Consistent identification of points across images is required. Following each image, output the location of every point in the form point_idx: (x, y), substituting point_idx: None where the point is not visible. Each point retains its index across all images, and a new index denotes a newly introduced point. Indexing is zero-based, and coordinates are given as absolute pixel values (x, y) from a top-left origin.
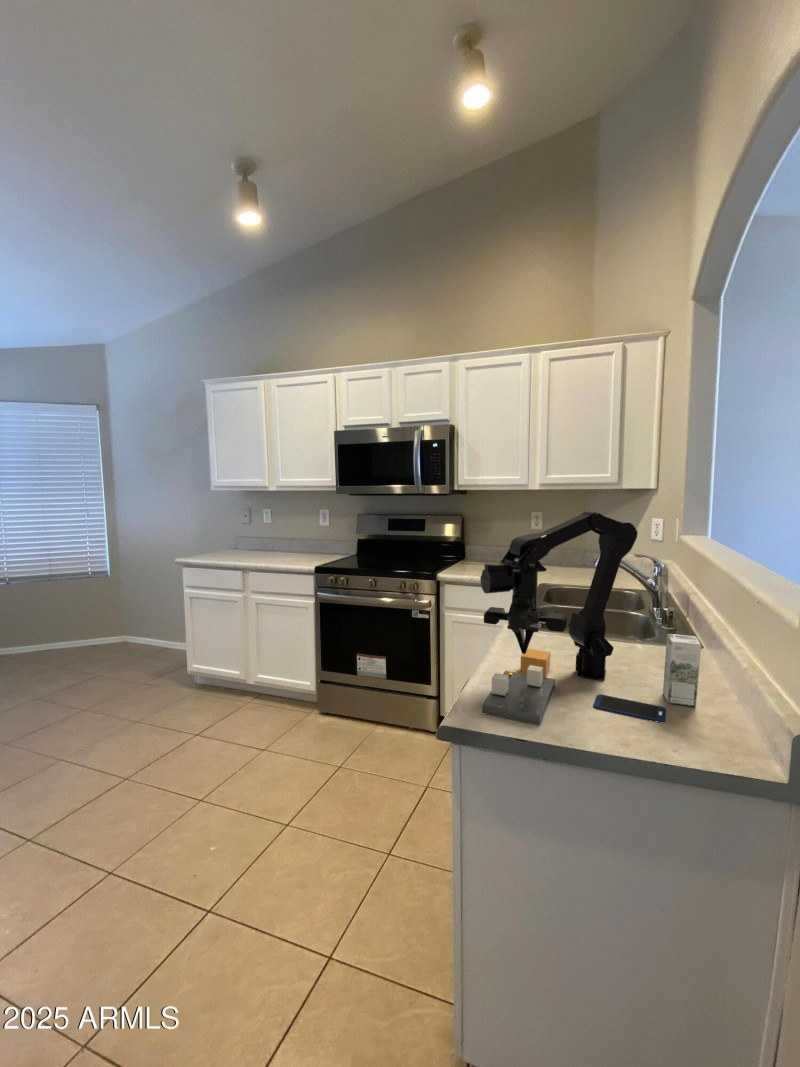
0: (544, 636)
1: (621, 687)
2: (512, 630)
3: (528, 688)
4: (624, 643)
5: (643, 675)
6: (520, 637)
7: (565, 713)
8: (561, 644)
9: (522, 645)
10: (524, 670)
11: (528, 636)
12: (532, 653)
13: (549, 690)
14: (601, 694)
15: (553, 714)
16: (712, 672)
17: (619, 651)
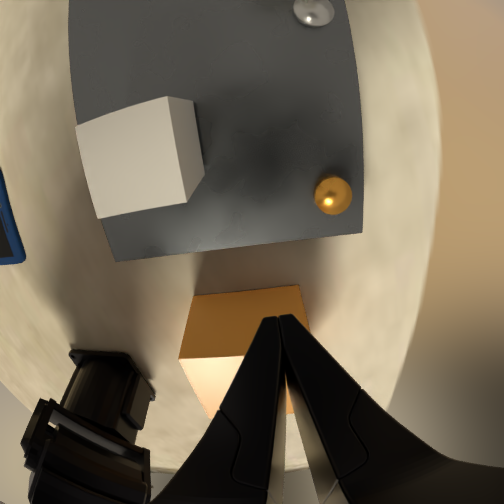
0: (296, 460)
1: (33, 330)
2: (500, 472)
3: (172, 73)
4: (161, 466)
5: (56, 390)
6: (339, 438)
7: (36, 63)
8: None
9: (296, 363)
10: (283, 301)
11: (216, 478)
12: None
13: (82, 123)
14: (18, 262)
15: (63, 25)
16: (29, 409)
17: None
